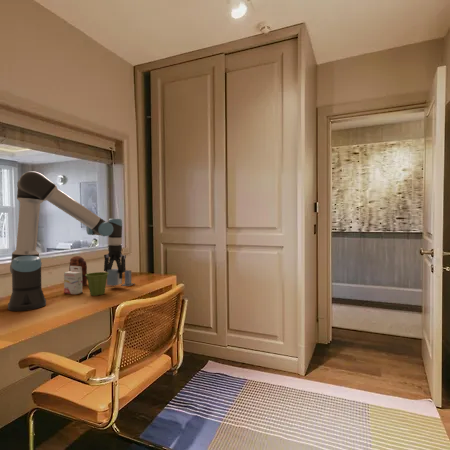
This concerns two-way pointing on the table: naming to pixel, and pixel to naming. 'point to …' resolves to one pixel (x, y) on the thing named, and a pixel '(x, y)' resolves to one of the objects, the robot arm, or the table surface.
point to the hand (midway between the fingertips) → (114, 283)
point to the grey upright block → (112, 277)
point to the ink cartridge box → (73, 280)
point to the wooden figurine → (80, 262)
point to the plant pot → (97, 282)
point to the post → (127, 278)
